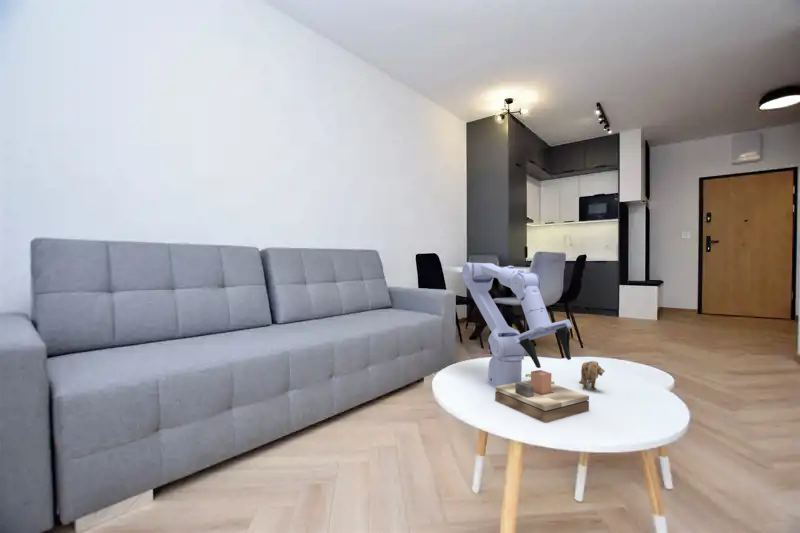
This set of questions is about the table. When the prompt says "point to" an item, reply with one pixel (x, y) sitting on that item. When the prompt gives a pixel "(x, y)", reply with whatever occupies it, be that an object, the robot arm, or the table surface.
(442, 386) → the table surface
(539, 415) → the wooden box
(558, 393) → the lid
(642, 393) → the table surface
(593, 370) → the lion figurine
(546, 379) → the terracotta rectangular block
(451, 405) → the table surface
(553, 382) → the key
